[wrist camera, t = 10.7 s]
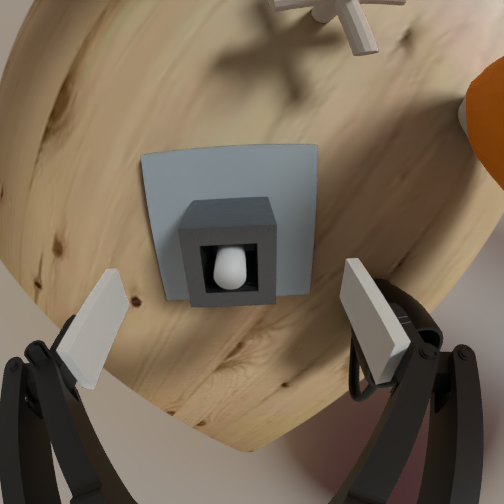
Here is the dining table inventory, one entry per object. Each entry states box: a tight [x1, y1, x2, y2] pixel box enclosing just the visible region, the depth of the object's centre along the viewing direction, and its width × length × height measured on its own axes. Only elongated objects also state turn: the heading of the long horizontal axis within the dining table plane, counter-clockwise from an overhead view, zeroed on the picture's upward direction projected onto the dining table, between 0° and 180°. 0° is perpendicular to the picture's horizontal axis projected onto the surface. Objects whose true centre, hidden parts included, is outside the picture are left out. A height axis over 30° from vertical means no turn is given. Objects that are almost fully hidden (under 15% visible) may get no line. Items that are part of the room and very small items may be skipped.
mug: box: [349, 279, 443, 402], centre depth 25 cm, size 8×12×10 cm
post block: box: [141, 144, 318, 300], centre depth 20 cm, size 14×14×8 cm
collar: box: [178, 197, 277, 307], centre depth 20 cm, size 6×6×6 cm
